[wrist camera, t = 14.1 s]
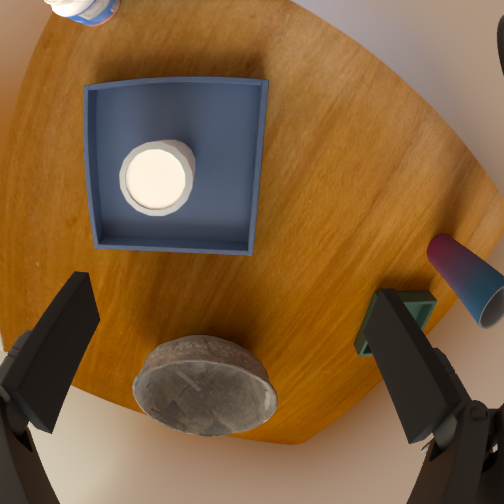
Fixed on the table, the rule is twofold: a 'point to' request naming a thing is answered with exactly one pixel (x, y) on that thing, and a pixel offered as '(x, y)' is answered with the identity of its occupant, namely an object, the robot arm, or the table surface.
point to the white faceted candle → (158, 176)
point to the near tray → (205, 152)
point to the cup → (469, 279)
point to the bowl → (205, 387)
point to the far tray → (415, 302)
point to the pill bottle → (85, 10)
